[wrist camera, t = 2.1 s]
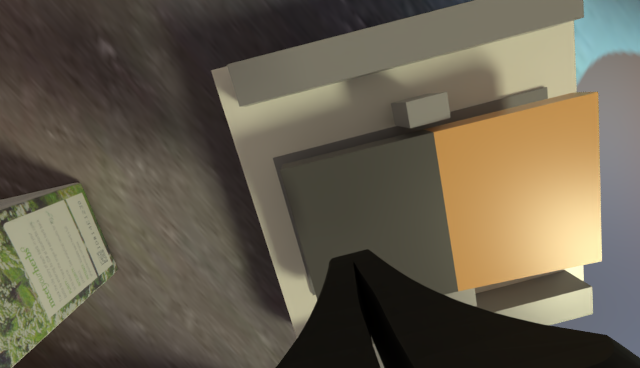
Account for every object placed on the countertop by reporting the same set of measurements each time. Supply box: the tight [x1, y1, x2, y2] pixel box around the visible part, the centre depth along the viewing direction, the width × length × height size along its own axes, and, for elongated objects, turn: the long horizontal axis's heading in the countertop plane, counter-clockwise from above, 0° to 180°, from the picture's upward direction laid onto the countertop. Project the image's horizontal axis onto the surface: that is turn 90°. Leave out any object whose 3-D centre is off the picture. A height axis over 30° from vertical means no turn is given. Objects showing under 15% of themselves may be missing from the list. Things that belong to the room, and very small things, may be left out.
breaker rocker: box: [280, 92, 602, 300], centre depth 13 cm, size 12×7×1 cm, turn 104°
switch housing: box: [211, 0, 593, 368], centre depth 16 cm, size 16×16×6 cm
